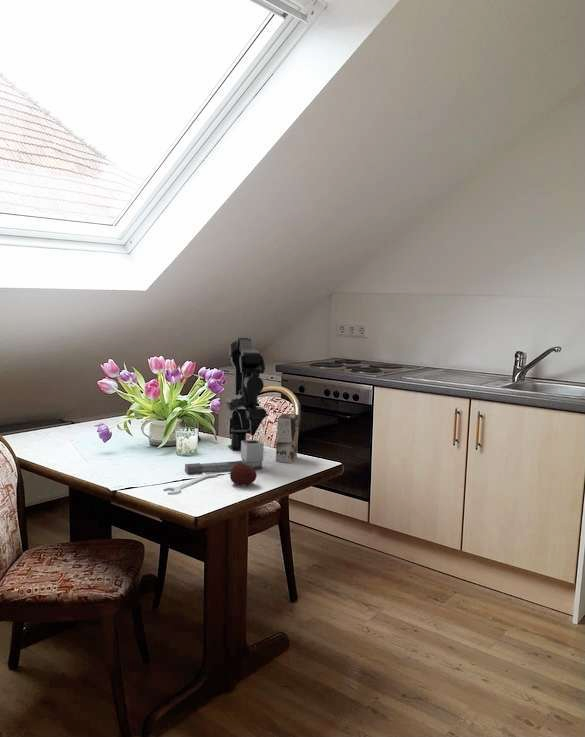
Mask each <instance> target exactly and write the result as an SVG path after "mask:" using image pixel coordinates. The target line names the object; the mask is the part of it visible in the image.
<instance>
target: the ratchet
mask: <svg viewBox="0 0 585 737" xmlns="http://www.w3.org/2000/svg"><path fill="white" fill-rule="evenodd" d="M238 463H245V464H247V465H249V466H251V467H252V468H253V469H254V470H255V471H260V470H262V468H263V461H255V462H246V461H244V460H243V459H242V458H241V460H235V461H222V462H221V461H220V462H208V463H200V462H199V463H198V462H197V463H185V464H184V471H185V473H186V475H194V474H196V473H197V474H202V473H206V472H209V473H217V472H220V473H221V472H231V469H232V468H233V466H234V465H236V464H238Z"/></svg>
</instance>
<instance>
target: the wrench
mask: <svg viewBox="0 0 585 737" xmlns="http://www.w3.org/2000/svg"><path fill="white" fill-rule="evenodd" d="M217 477H218V473H217V472H206V473H201V475H200V476H198V477H196V478H194V479H191V480H189V481H186V482H185V483H182V484H181V485H178V486H175V487H174V486H170V487H166V488H163V492H165V491H167V495H177V494H180V493H181V492H182V491H181V490H182V489H185V488H187V487H189V486H191V485H194V484H196V483H198V482H200V481H203V480H205V479H207V478H209V479H210V478H211V479H212V478H217ZM168 491H169V492H168Z"/></svg>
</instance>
